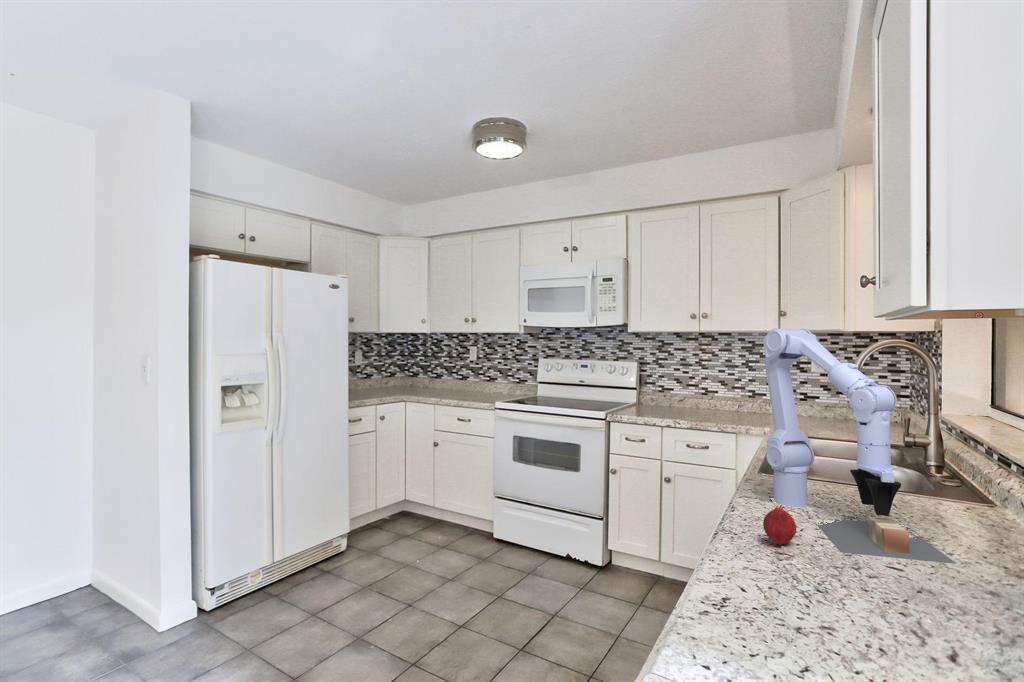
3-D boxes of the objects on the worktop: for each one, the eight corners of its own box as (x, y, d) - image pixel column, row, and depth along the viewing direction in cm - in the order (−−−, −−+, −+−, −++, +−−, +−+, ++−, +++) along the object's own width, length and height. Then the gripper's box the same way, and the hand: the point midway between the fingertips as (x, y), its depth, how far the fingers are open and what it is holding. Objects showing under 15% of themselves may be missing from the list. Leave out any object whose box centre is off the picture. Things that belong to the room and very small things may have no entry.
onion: (799, 552, 98) (798, 510, 98) (765, 549, 100) (765, 507, 100) (793, 542, 103) (792, 502, 103) (761, 538, 105) (761, 499, 105)
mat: (810, 519, 118) (810, 517, 118) (903, 526, 112) (903, 524, 112) (841, 554, 97) (841, 552, 97) (957, 566, 91) (957, 563, 91)
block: (868, 517, 105) (883, 529, 97) (891, 518, 104) (909, 531, 96) (868, 536, 105) (884, 551, 97) (891, 538, 104) (909, 553, 96)
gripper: (912, 450, 99) (913, 522, 99) (882, 439, 113) (883, 501, 113) (869, 449, 101) (871, 518, 101) (845, 437, 115) (846, 499, 115)
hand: (874, 509), depth 107 cm, fingers open, 7 cm apart
